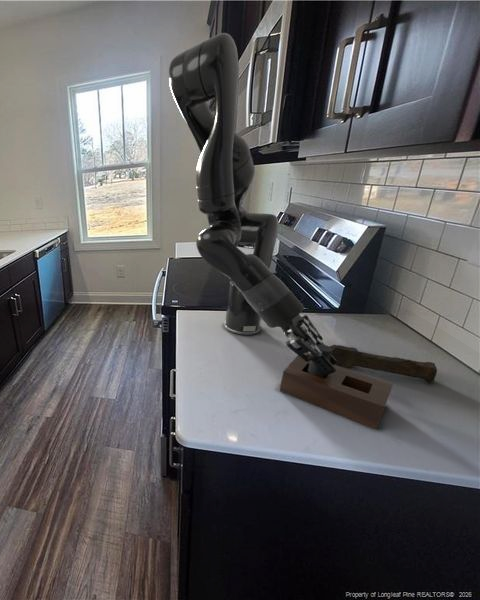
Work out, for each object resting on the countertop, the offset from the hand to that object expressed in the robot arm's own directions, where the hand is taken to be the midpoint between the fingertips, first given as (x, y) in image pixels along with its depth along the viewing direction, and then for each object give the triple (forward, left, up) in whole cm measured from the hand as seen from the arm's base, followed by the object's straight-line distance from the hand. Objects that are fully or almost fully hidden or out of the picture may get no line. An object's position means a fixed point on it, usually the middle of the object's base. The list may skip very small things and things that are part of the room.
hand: (331, 368), depth 63 cm
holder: (0, +1, -6) cm, 7 cm away
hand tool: (-17, +5, -7) cm, 19 cm away
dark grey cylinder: (0, -2, -5) cm, 5 cm away
